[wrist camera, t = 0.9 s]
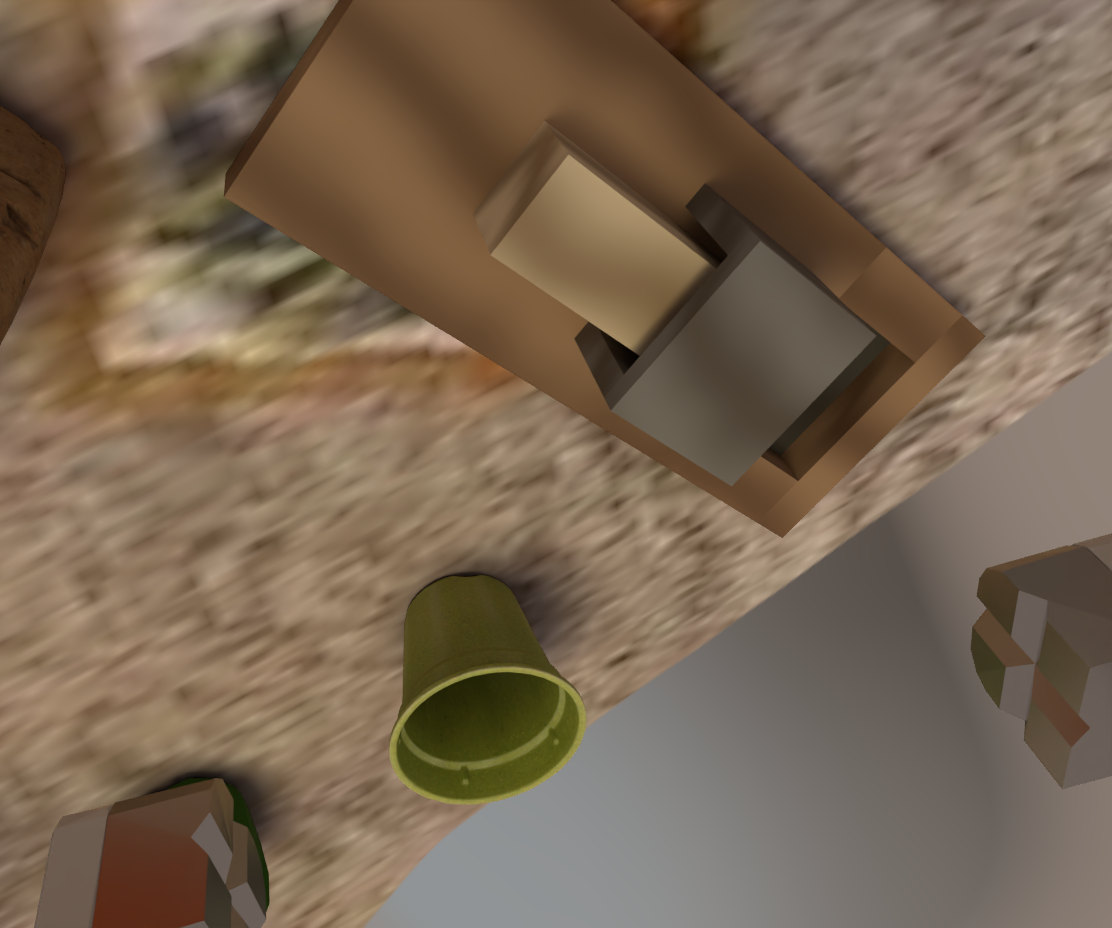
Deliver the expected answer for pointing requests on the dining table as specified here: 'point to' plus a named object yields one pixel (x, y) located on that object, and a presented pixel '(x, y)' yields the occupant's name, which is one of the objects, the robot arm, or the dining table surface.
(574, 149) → the birch bar
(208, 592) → the dining table surface
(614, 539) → the dining table surface
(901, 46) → the dining table surface
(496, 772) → the plant pot
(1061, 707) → the robot arm
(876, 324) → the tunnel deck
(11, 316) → the block
